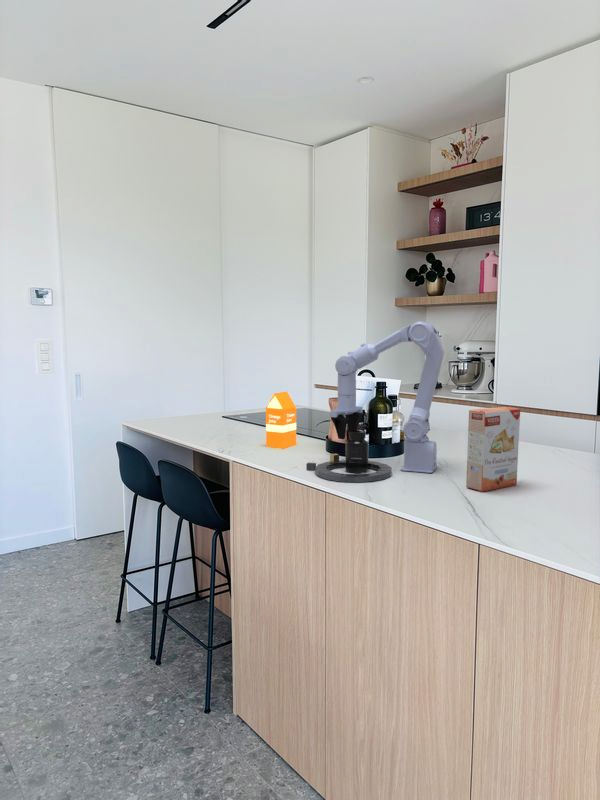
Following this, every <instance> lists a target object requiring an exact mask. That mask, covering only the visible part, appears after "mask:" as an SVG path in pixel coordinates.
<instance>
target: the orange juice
mask: <svg viewBox="0 0 600 800" xmlns="http://www.w3.org/2000/svg"><path fill="white" fill-rule="evenodd" d="M265 431H266V432H265V434H266V435H265V438H266V439H265V441H266V444H265V447H266V446H268V447H274V448H273V449H277V448H281V449H280V450H285V448H286V449H288V447H289V448H292V447H291V446H293V447H295V445H296V446H297V406H296V405H295V403H294V401H293V399H292V397H291V396H290V393H289V392H288V391H281V392H275V393H273V395H272V396H271V398H270V400H269V401H268V403H267V405H266V407H265ZM268 447H267V448H268Z"/></svg>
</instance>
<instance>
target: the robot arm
mask: <svg viewBox="0 0 600 800" xmlns="http://www.w3.org/2000/svg"><path fill="white" fill-rule="evenodd" d="M404 342H405V343H408V342H411V343H412V342H413V343H414V344H415V345H417V346H418V347H419V348H420V349H421V350H422V352H423V353H424V355H425V360H424V364H423V367H422V372H421V376H420V380H419V382H418V387H417V392H416V396H415V400H414V404H413V407H412V410H411V412H410V414H409V417H408V420H407V421H406V422H405V424H404V425H403V427H402V429H403V435H404V440H403V442H404V443H403V448H404V449H403V452H404V453H403V466H402V467H401V468H400V469H399V470H400V471H402V472H403V471H404V472H416V473H429V474H432V473H434V471H435V470H436V469H437V442H436V441H433V440H430V439H429V437H428V435H427V434H429V431H430V428H431V426H430V413H431V412H430V410H431V406H432V401H433V398H434V394H435V391H436V386H437V383H438V380H439V375H440V371H441V368H442V363H443V361H444V356H445V349H444V347H443V345H442V344H443V343H442V342H441V337H440V334H439V331H438V330H437V329H436V328H435V327H434V325H433V324H431V323H430V322H428V321H427V322H426V321H415V322H413V323H412V324H409V325H406V326H404V327H401V328H399V329H398V330H396V331H394V332H393V333H391V334H390V335H388V336H386V337H385V338H383V339H381V340H380V341H378V342H376V343H374V344H373V343H369V342H367V343H362V344H360V347H358V348H357V349H355V350H353V351H349V352H347V355H342V356H340V357H338V358H337V360H336V361H335V364H334V365H335V370H336V372H337V407H335V409H332V410H330V415H329V417H330V420H331V422H332V423H333V426H334V428H335V431H336V436H337V439H338V440H345V439H346V431H347V434H348V436H349V432H350V431H353V430H358V427H359V424H360V422H361V421H362V418H363V414H362V413H363V406H359V405H357V371H358V370H360V369H363V368H364V367H366V366H368V365H370V364H371V363H373V362H375V361H377V360H378V359H379V355H380V354H381V353H383V352H385V351H387V350H390V349H391V348H393V347H395V346H397V345H399V344H401V343H404Z"/></svg>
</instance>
